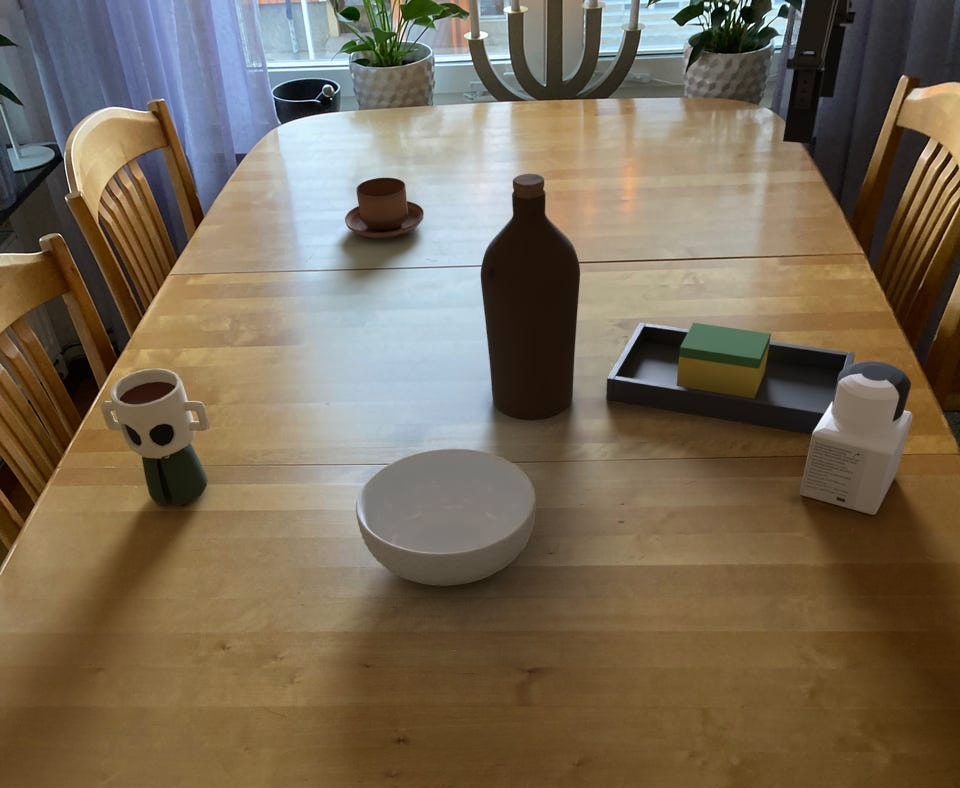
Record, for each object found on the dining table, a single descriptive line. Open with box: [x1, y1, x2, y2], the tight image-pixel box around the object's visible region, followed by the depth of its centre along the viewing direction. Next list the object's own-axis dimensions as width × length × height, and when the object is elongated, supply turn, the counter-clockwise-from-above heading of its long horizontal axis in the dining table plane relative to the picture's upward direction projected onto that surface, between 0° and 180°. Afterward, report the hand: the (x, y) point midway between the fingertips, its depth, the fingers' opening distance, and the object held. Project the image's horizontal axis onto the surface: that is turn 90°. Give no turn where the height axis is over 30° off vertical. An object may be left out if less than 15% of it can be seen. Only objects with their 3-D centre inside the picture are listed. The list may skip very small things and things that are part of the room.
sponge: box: [676, 322, 772, 398], centre depth 115 cm, size 9×6×5 cm, turn 68°
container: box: [799, 360, 914, 516], centre depth 98 cm, size 8×8×13 cm
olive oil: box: [480, 173, 581, 420], centre depth 109 cm, size 11×11×25 cm
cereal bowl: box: [355, 448, 537, 587], centre depth 96 cm, size 17×17×7 cm
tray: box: [605, 321, 856, 435], centre depth 116 cm, size 26×14×3 cm, turn 68°
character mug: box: [99, 367, 211, 506], centre depth 104 cm, size 11×7×13 cm, turn 85°
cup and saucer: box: [344, 177, 425, 239], centre depth 151 cm, size 12×12×6 cm
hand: (809, 118), depth 103 cm, fingers open, 13 cm apart
